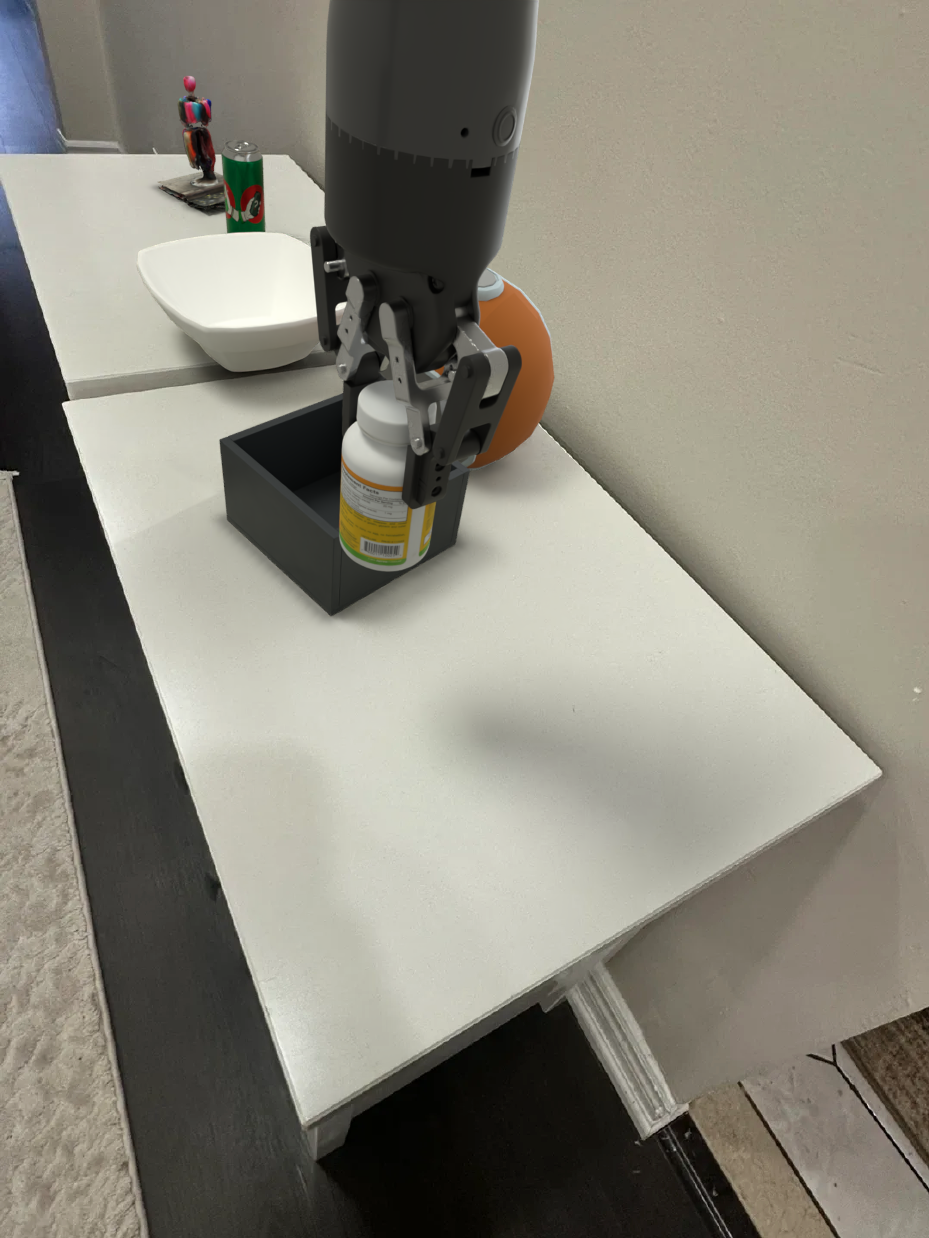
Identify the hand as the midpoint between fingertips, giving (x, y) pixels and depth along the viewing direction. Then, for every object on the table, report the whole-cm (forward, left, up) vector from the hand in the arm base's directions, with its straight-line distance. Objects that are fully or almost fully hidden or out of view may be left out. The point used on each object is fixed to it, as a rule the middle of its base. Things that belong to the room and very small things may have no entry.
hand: (391, 468), depth 42 cm
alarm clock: (+26, +25, -22) cm, 42 cm away
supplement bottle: (0, 0, -6) cm, 6 cm away
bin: (+8, +17, -22) cm, 29 cm away
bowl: (+15, +48, -22) cm, 55 cm away
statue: (+29, +89, -22) cm, 96 cm away
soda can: (+27, +73, -22) cm, 81 cm away
